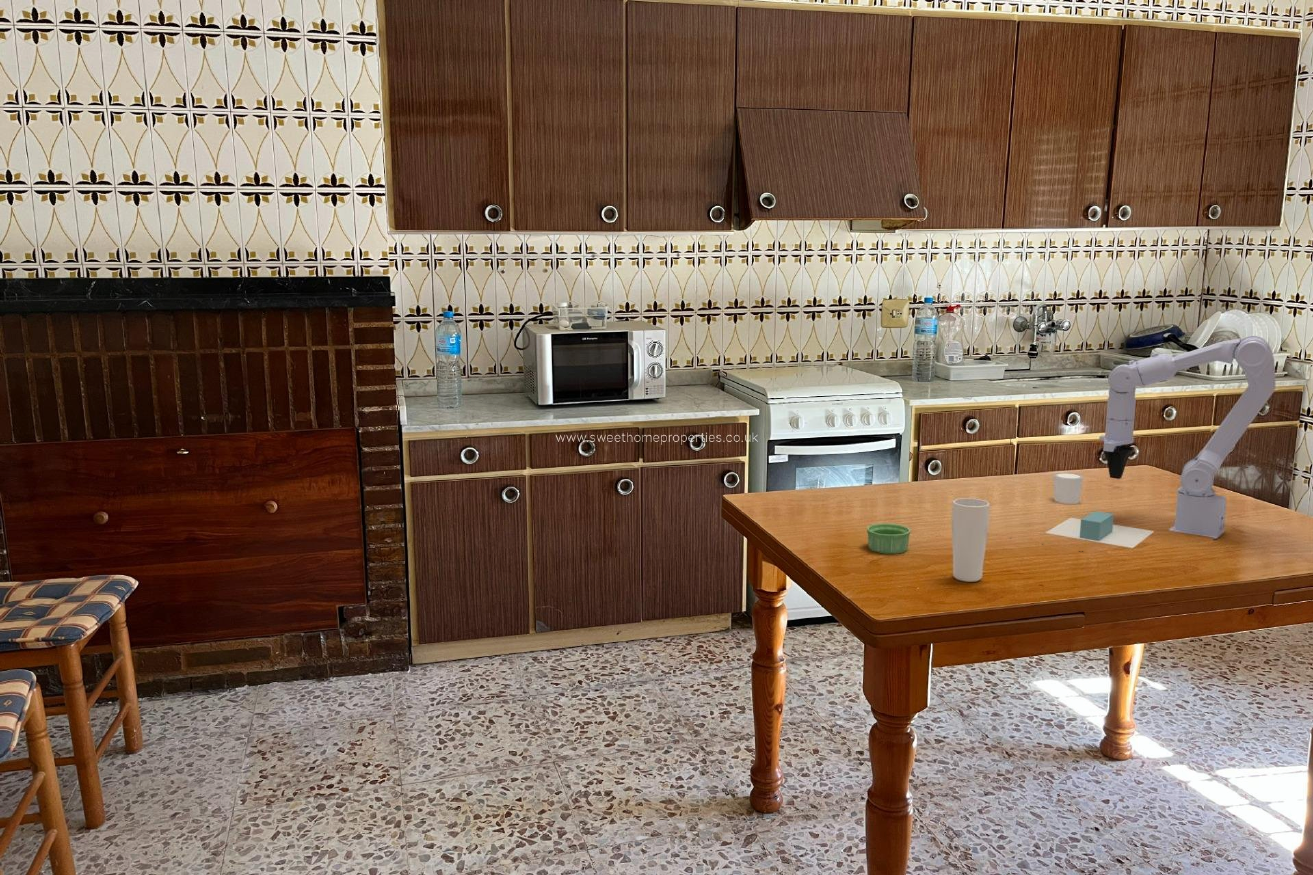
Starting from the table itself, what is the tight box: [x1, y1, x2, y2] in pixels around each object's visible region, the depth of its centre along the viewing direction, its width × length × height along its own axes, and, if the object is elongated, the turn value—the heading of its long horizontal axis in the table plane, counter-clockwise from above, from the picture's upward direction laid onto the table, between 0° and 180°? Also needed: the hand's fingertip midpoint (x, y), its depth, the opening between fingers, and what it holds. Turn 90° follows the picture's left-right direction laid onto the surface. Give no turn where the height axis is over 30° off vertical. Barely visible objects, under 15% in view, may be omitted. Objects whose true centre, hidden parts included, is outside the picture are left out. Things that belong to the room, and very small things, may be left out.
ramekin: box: [866, 523, 912, 555], centre depth 212 cm, size 9×9×4 cm
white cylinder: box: [1052, 472, 1085, 505], centre depth 247 cm, size 7×7×7 cm
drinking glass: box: [951, 497, 990, 583], centre depth 192 cm, size 7×7×15 cm
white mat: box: [1045, 517, 1155, 549], centre depth 221 cm, size 18×16×1 cm
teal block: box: [1080, 510, 1115, 541], centre depth 219 cm, size 4×4×9 cm
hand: (1115, 477), depth 229 cm, fingers closed
